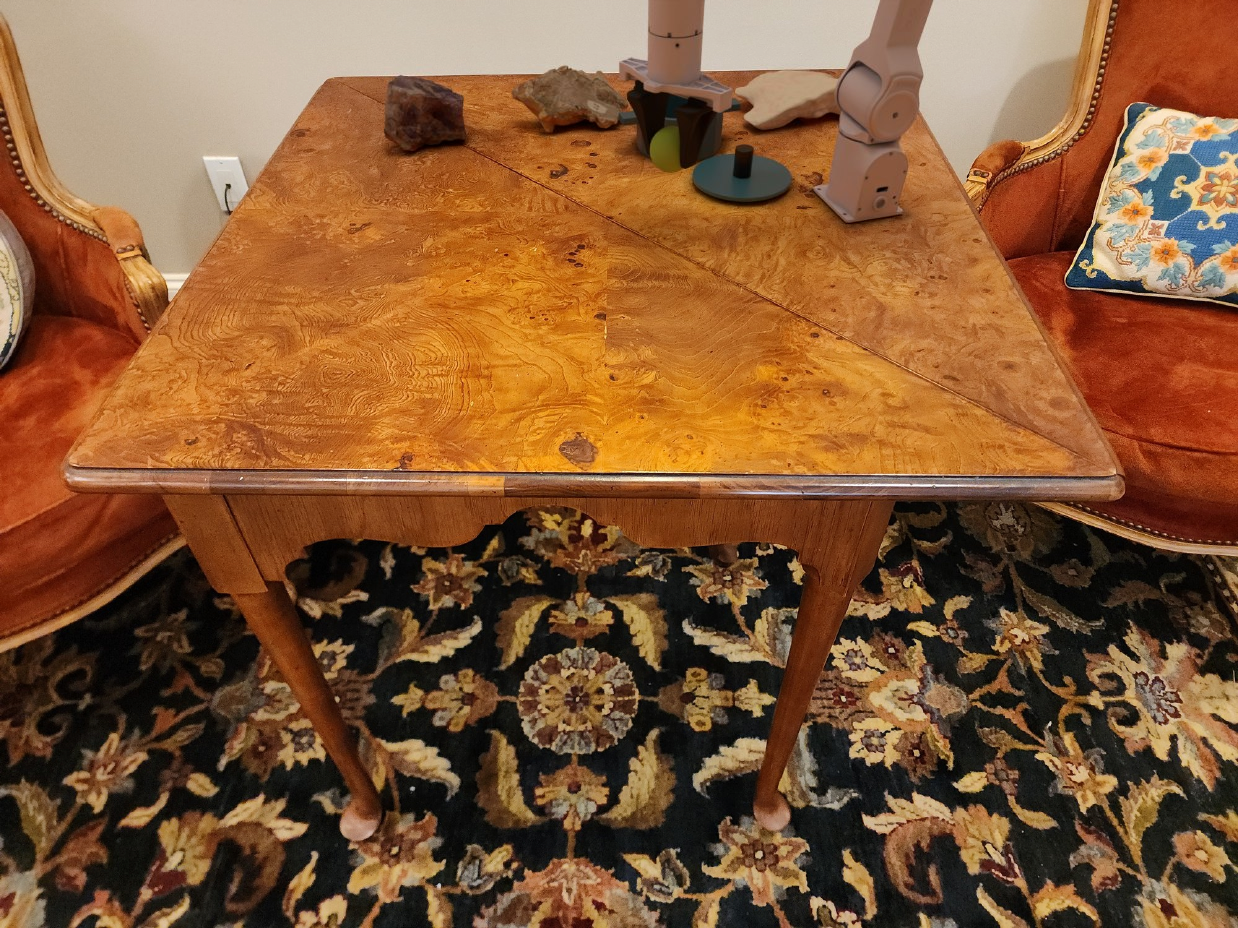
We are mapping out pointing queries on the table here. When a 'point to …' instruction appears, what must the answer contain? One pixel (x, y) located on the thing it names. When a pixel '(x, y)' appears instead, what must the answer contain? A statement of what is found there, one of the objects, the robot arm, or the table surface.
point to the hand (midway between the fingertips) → (670, 158)
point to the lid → (742, 176)
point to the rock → (422, 113)
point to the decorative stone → (788, 97)
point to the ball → (666, 149)
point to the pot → (711, 138)
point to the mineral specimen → (571, 98)
